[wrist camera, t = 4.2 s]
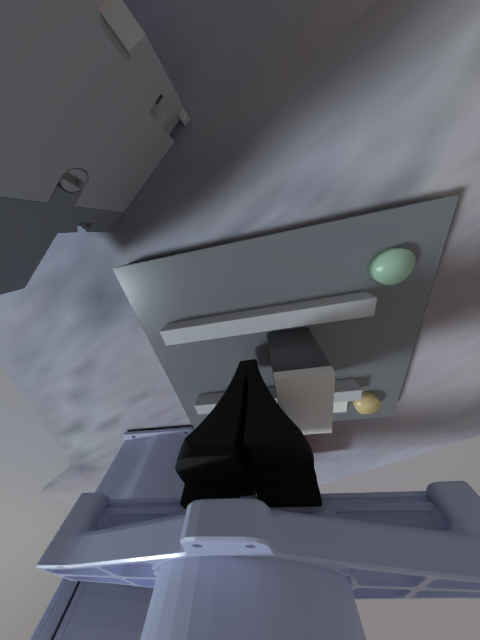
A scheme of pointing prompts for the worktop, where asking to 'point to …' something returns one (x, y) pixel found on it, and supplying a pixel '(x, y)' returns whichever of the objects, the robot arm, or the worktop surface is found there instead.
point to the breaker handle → (302, 380)
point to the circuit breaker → (74, 123)
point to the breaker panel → (296, 304)
